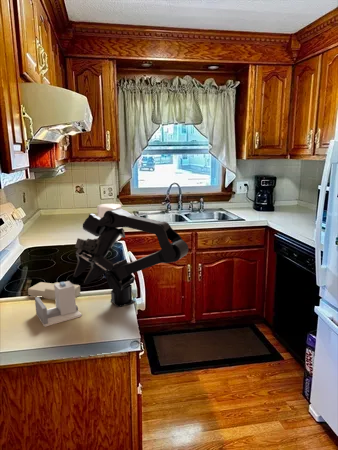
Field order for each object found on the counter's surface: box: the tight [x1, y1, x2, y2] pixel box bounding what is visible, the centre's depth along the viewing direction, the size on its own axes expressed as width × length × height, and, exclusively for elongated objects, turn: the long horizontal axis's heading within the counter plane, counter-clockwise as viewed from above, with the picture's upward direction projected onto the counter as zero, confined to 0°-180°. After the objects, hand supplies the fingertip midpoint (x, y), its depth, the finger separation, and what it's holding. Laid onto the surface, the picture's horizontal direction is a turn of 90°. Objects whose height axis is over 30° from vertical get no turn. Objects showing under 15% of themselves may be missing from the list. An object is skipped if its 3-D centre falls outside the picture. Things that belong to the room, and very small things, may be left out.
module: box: [53, 280, 77, 316], centre depth 112 cm, size 5×6×10 cm
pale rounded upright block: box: [96, 203, 123, 242], centre depth 208 cm, size 15×14×22 cm
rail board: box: [34, 297, 82, 327], centre depth 111 cm, size 12×10×6 cm
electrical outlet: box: [27, 281, 81, 301], centre depth 127 cm, size 7×4×18 cm
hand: (79, 280), depth 113 cm, fingers open, 9 cm apart
